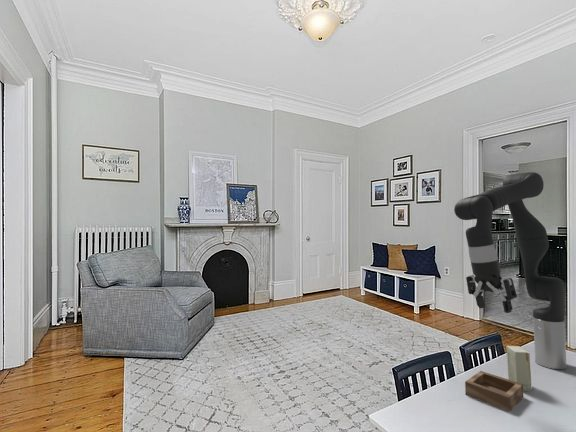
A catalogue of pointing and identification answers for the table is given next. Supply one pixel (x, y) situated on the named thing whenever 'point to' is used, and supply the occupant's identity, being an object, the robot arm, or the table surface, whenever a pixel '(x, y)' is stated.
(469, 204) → the robot arm
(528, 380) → the skincare box
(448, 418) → the table surface
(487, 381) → the block
